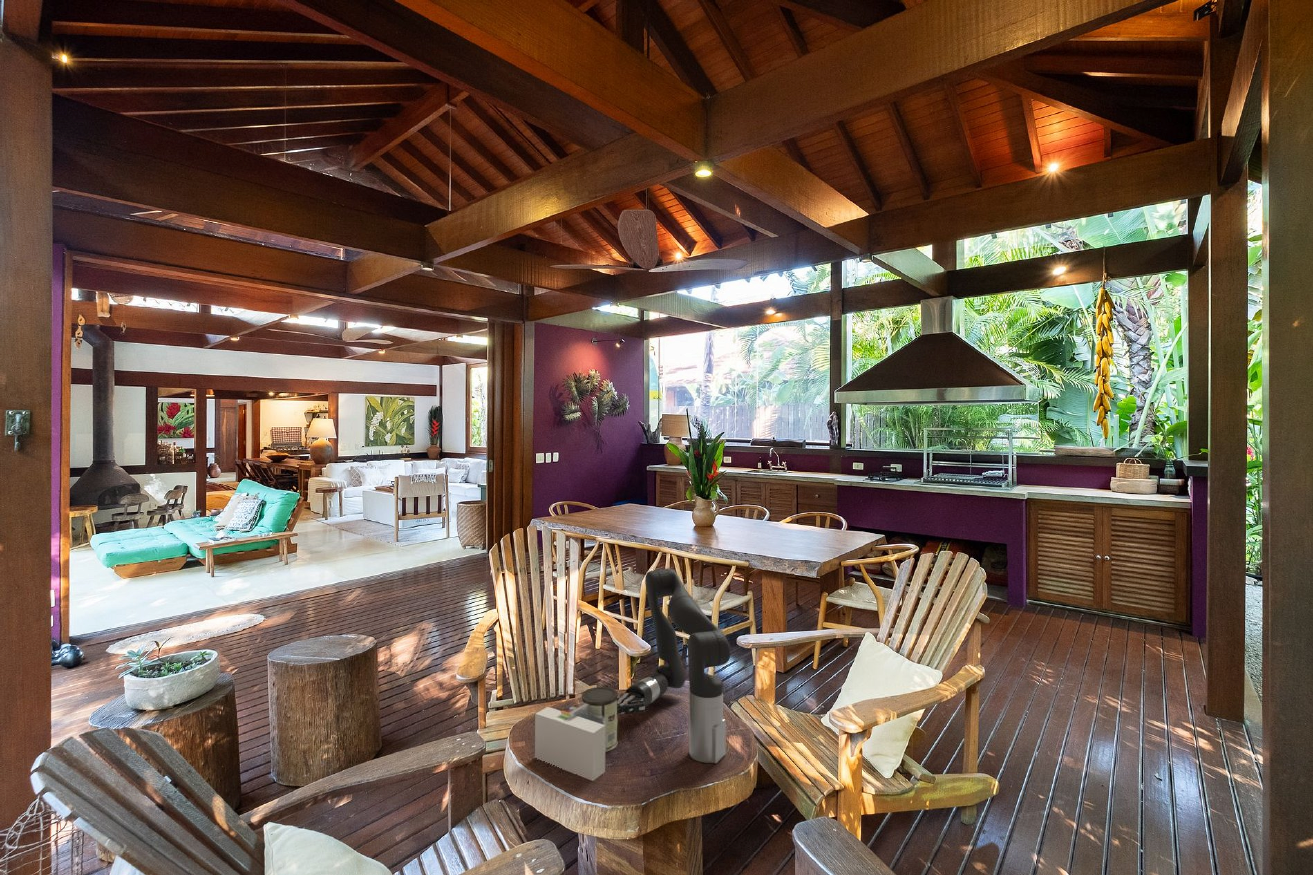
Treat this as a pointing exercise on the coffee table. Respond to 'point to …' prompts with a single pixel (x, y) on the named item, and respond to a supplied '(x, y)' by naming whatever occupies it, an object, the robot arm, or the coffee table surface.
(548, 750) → the gauge housing
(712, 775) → the coffee table surface
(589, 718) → the grey t-shaped bracket
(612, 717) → the coffee can
